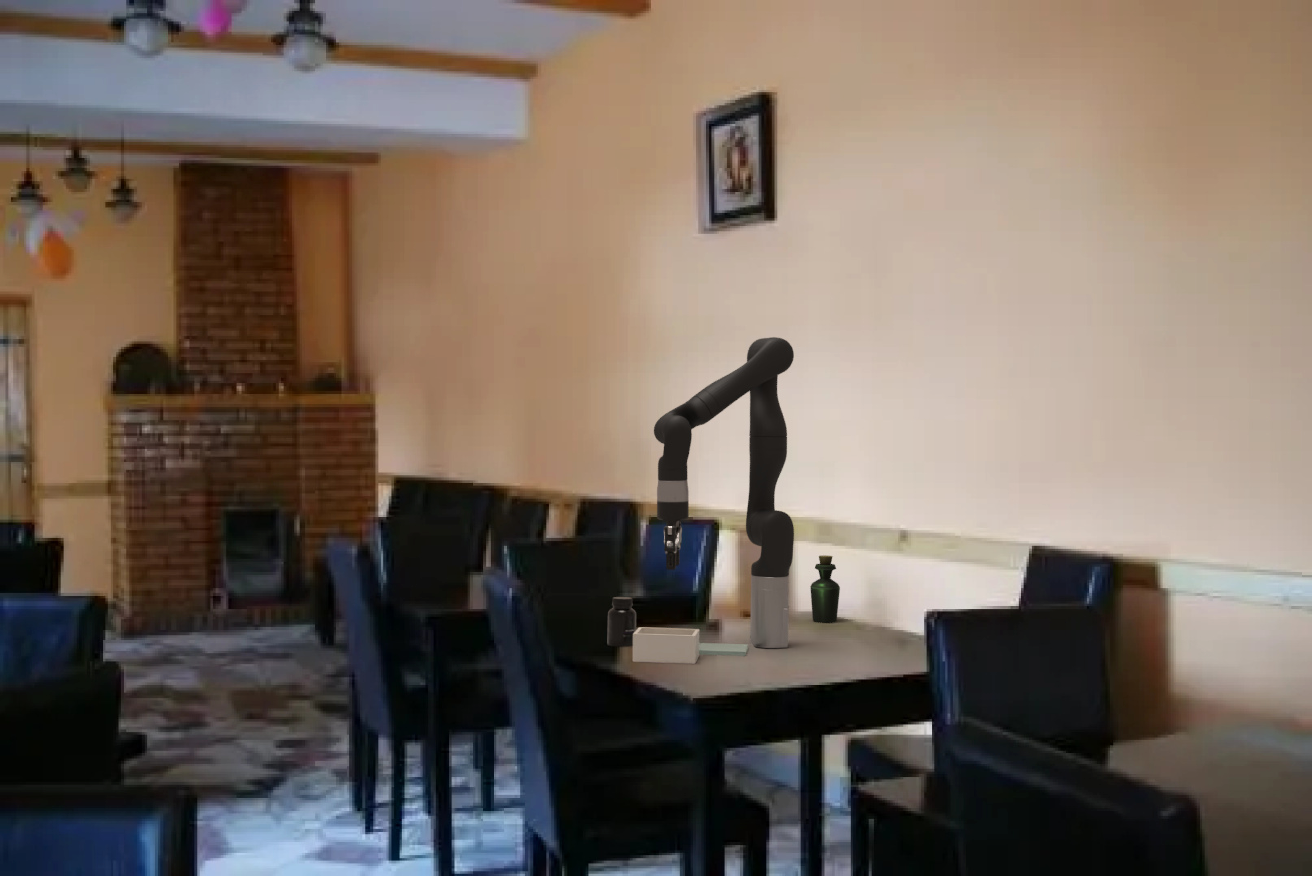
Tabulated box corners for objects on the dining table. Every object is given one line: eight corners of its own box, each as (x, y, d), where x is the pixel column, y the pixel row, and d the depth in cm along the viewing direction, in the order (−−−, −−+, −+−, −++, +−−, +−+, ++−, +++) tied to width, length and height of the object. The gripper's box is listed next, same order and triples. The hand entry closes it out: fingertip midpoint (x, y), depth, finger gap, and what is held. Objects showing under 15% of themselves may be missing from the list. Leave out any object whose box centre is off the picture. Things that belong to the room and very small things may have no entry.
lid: (748, 652, 330) (748, 640, 330) (745, 660, 319) (745, 648, 319) (667, 650, 332) (667, 638, 332) (661, 657, 322) (662, 645, 322)
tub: (699, 659, 318) (699, 629, 318) (694, 667, 308) (695, 635, 308) (638, 657, 320) (639, 627, 320) (632, 664, 310) (632, 633, 310)
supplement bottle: (632, 650, 329) (632, 600, 329) (604, 649, 331) (604, 598, 330) (638, 645, 336) (639, 596, 336) (611, 644, 337) (611, 595, 337)
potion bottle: (826, 618, 387) (827, 554, 387) (845, 622, 380) (846, 556, 380) (803, 620, 382) (804, 555, 382) (822, 624, 376) (823, 558, 375)
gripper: (685, 501, 321) (685, 571, 322) (691, 497, 335) (691, 564, 336) (653, 501, 322) (653, 570, 322) (660, 497, 336) (660, 563, 337)
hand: (672, 567), depth 329 cm, fingers open, 8 cm apart
